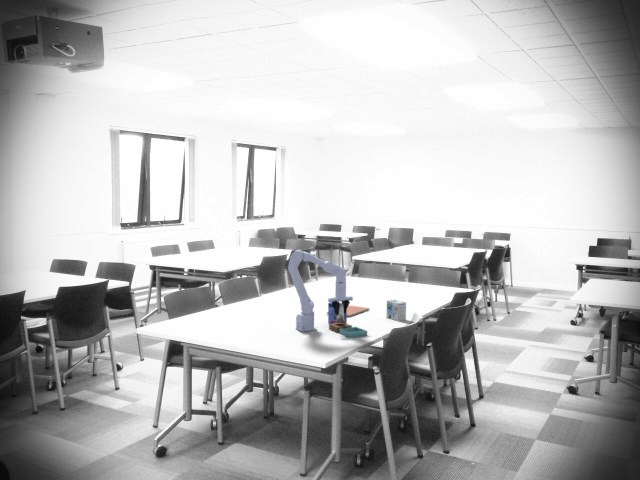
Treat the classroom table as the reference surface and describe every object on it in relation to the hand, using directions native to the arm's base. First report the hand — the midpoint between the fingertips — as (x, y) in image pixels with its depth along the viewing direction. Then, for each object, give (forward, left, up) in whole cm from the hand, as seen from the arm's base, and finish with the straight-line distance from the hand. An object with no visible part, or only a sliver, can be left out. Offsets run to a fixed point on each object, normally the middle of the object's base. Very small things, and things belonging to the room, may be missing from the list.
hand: (340, 314), depth 308 cm
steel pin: (0, 0, -4) cm, 4 cm away
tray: (+1, -12, -9) cm, 14 cm away
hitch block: (0, 0, -9) cm, 9 cm away
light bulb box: (+45, +9, -9) cm, 47 cm away
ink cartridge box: (+6, +13, -9) cm, 17 cm away
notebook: (+30, +40, -10) cm, 51 cm away
